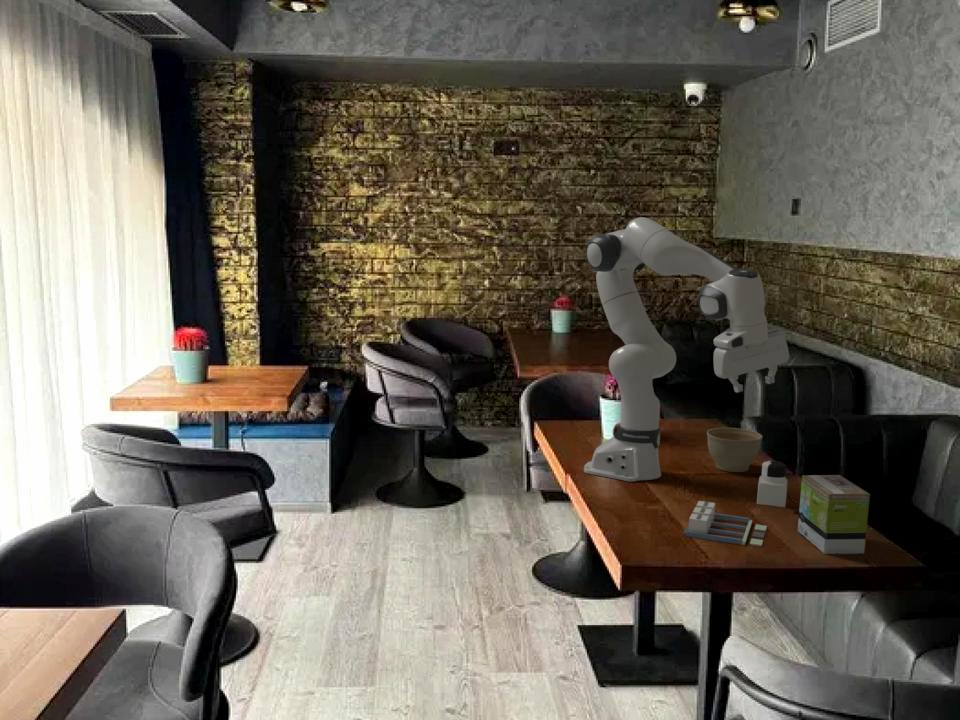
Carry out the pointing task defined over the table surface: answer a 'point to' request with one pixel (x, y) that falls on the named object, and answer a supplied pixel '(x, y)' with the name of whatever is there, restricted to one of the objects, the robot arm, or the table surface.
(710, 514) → the white slotted cube
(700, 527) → the tab
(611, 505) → the table surface
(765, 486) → the medicine bottle
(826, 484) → the tea box
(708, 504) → the tab
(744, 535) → the switch bank
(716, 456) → the planter bowl
